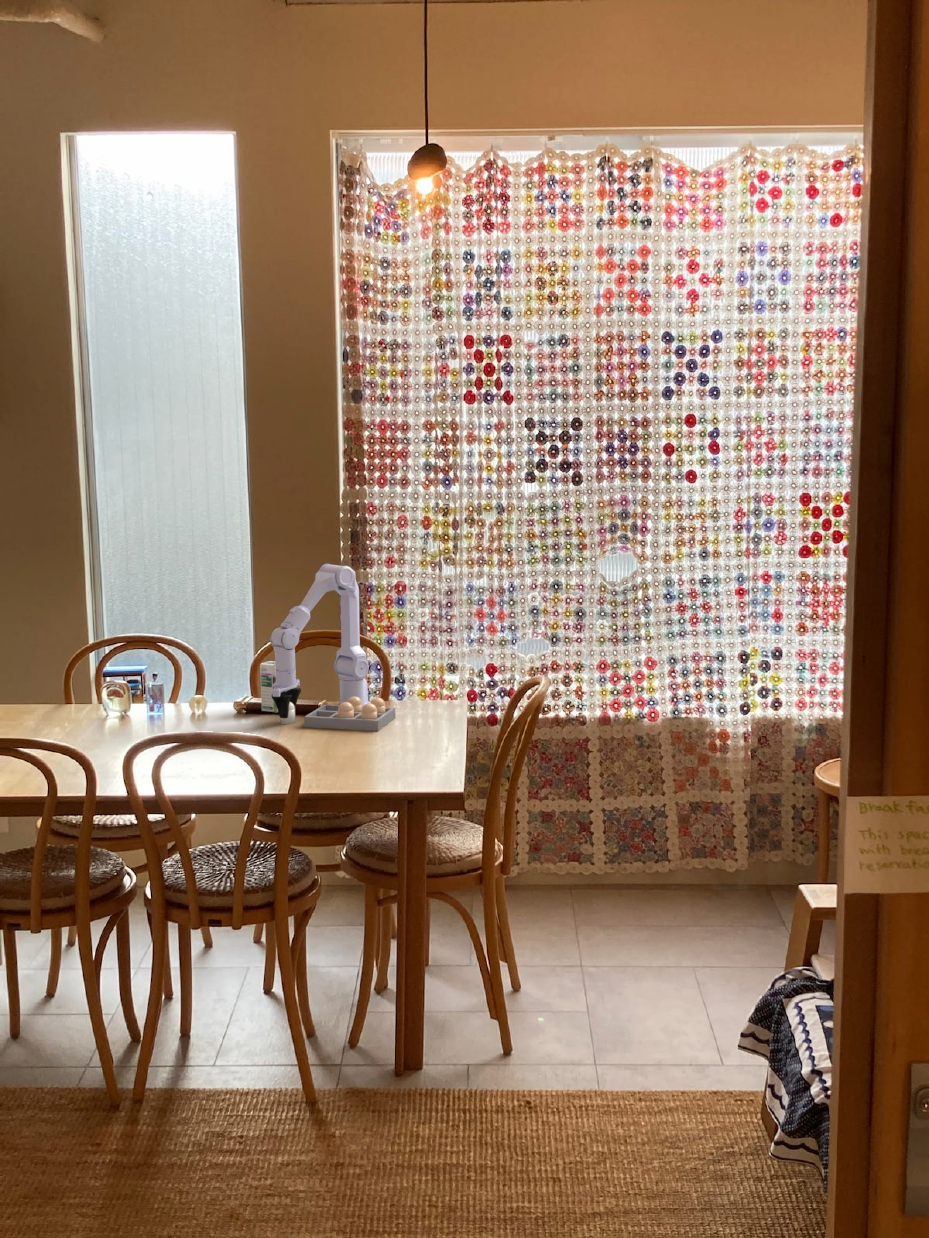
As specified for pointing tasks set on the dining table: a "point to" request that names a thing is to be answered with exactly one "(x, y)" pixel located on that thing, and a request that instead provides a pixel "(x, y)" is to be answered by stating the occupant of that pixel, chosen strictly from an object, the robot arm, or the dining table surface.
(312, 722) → the egg carton
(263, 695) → the syrup box
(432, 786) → the dining table surface
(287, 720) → the white egg
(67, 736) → the dining table surface
